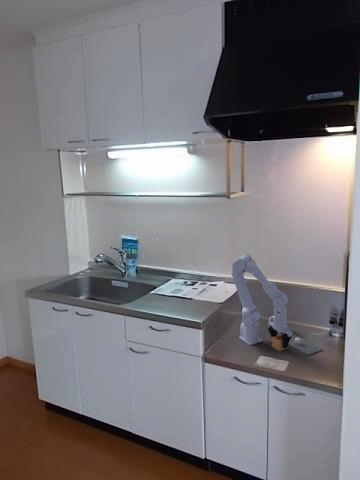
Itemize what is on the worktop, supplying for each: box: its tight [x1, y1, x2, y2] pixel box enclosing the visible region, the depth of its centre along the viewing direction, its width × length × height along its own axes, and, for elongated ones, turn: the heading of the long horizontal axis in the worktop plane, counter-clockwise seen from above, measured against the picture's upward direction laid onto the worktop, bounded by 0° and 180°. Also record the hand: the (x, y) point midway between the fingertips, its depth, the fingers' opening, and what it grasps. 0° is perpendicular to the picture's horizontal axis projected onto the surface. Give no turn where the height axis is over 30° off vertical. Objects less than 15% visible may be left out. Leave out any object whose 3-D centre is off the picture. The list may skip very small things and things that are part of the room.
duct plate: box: [288, 332, 324, 357], centre depth 186 cm, size 20×10×3 cm, turn 28°
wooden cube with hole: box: [271, 334, 289, 352], centre depth 184 cm, size 5×5×5 cm
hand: (279, 344), depth 184 cm, fingers open, 7 cm apart
